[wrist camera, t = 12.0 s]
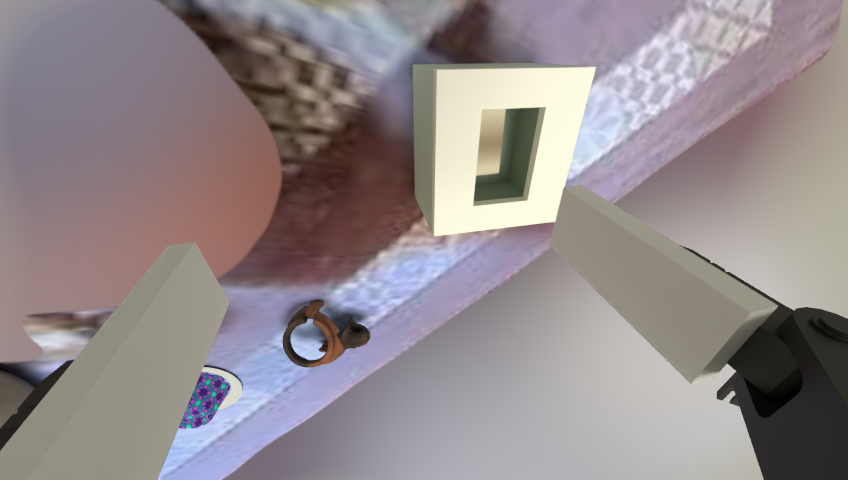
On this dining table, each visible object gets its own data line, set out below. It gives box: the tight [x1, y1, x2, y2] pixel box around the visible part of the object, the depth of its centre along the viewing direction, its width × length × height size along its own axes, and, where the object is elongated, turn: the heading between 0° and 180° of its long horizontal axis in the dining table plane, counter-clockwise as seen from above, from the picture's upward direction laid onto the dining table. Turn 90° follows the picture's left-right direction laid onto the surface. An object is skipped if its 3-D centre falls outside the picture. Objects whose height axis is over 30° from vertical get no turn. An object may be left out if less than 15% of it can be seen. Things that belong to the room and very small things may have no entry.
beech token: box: [476, 109, 506, 176], centre depth 34 cm, size 7×4×4 cm, turn 2°
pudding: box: [179, 367, 243, 429], centre depth 47 cm, size 12×12×5 cm
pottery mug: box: [283, 301, 370, 367], centre depth 45 cm, size 12×10×8 cm
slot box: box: [412, 63, 596, 236], centre depth 33 cm, size 15×14×10 cm
